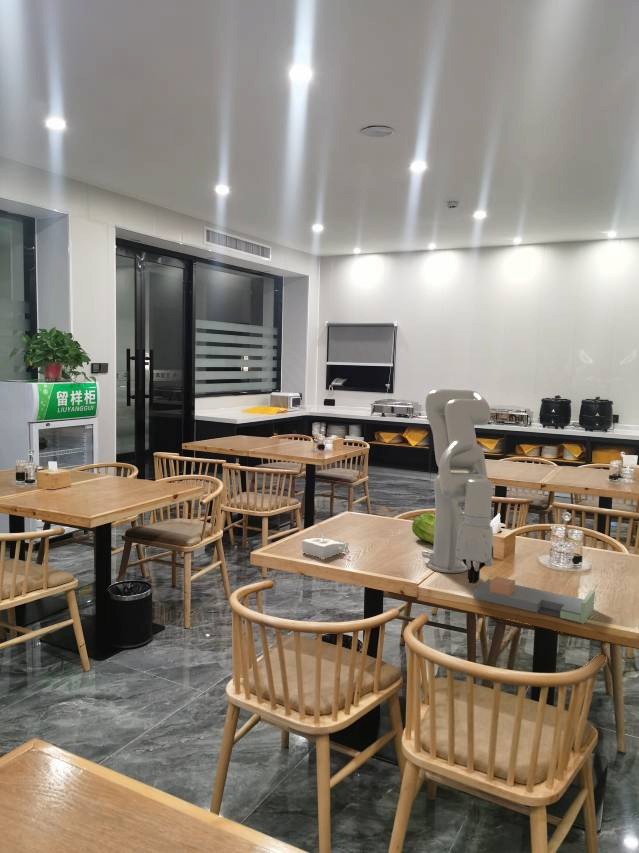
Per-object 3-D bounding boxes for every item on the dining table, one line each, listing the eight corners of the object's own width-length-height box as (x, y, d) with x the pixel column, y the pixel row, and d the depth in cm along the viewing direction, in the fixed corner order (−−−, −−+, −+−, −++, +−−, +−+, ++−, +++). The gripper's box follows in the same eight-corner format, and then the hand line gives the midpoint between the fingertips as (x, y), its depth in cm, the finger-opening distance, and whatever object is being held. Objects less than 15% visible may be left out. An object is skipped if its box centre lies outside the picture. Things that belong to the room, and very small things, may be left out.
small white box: (362, 562, 222) (332, 563, 211) (320, 550, 236) (290, 550, 224) (366, 540, 223) (336, 539, 211) (324, 528, 236) (293, 527, 224)
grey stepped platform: (472, 597, 183) (474, 579, 183) (488, 585, 194) (489, 568, 194) (583, 623, 167) (585, 603, 166) (593, 609, 178) (595, 589, 177)
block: (489, 591, 182) (490, 581, 181) (495, 586, 186) (496, 576, 186) (508, 595, 179) (509, 585, 178) (514, 590, 183) (515, 580, 183)
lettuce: (452, 542, 224) (473, 518, 230) (402, 523, 243) (422, 501, 249) (462, 565, 230) (482, 541, 235) (413, 545, 249) (432, 523, 254)
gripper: (447, 519, 186) (444, 580, 188) (498, 527, 178) (494, 591, 180) (457, 514, 193) (453, 574, 194) (506, 522, 184) (502, 584, 186)
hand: (473, 582), depth 187 cm, fingers closed
